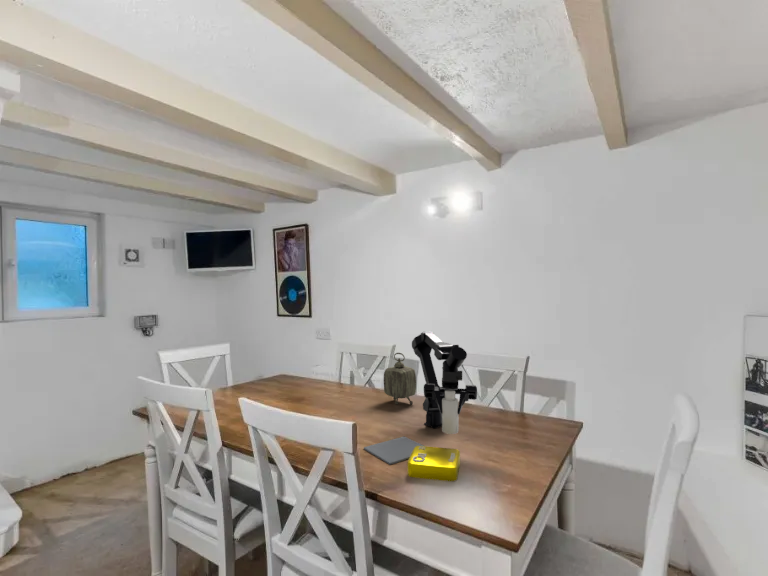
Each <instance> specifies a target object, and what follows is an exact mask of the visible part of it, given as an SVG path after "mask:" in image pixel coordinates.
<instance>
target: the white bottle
mask: <svg viewBox="0 0 768 576" xmlns="http://www.w3.org/2000/svg"><path fill="white" fill-rule="evenodd" d="M458 407H459V399H458V398H456V394H455V391H454V390H445V398H443V399H442V426H441V431H442V433H444V434H447V435H454V434H458V433H459V414H458Z"/></svg>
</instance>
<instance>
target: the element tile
mask: <svg viewBox="0 0 768 576" xmlns="http://www.w3.org/2000/svg"><path fill="white" fill-rule="evenodd" d="M406 465H407V466H406V467H407V476H408V477H410V478H415V479H422V480H423V479H424V480H433V481H441V482H456V481H457V480H458V475H459V473H460V472H459V471H460V467H461V452H460V450H459V449H457V448H449V447H447V448H446V447H438V446H437V447H436V446H427V445H423V446H416V447H415V448H414V449H413V451H412V453H411V455H410V458H409V459H407V464H406Z"/></svg>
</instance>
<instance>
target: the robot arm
mask: <svg viewBox="0 0 768 576" xmlns="http://www.w3.org/2000/svg"><path fill="white" fill-rule="evenodd" d="M411 348H412V349H413V352H414V354H415V355H416V356H417V357H418V358H419V361H420V364H421V368H422V373H423V376H424V380H425V383H424V384H423V396H424V398H425V399H424V400H423V403H422V409H423V411H425V412H426V414H425V422H424V423H423V424H424V425H425V426H428V427H430V428H433V429H437V428H440V427H441V428H442V399H443V398H445V390H454V391H455V395H459V399H458V415H460V414H461V411H462V408H463V406H464V405H465V403H466V402H469V400H473V401H474V400H477V398H478V386H476V385H474V384H465V388H459V382H460V381H463V370H459V368H460V367H462V365H463V363H464V362H465V360H466V358H467V357H468V354H467V351H466V350H465V349H464V348H463V347H462V346H461V347H460V346H459V344H452V343H449V342H444V341H442V340H441V339H440V338H439V337H438V336H437V335H435V332H434V331H432V330H431V331H423V332H421V333H420V334H418V335H417V336H415V337H414V338H413V339H412V341H411ZM432 350H433V353H434V354H433V355H434V356H435V358H436V359H437V360H438V361H442V367H441V369H442V377H441V386H440V385H439V384H438V379H437V376H436V375H437V374H436V372H435V368H434V365H433V360H432V357H431V352H432Z"/></svg>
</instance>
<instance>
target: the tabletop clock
mask: <svg viewBox="0 0 768 576" xmlns="http://www.w3.org/2000/svg"><path fill="white" fill-rule="evenodd" d="M396 355H401V356H402V357H403V359H401V358H398V359H397V358H396ZM393 359H394V360H395V361H397V362H395V363H394V364H393V366H391V367H387V368H385V370H384V371H383V372H384V373H383V389H384V394H386V395H387V396H390V397H392V398H393V400H394V404H395V405H399V402H398V400H399V399H408V401H409V404H410V405H413V403H414V402H413V401H412V400H411V399H410V397H413V396H414V395H415V394H416V391H417V375H416V370H415V369H414V368H413V367H410V366H407V365H405V363H403V362H404V361H405V359H406V357H405V355H404V354H403V353H401V352H396V353H394V354H393Z"/></svg>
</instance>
